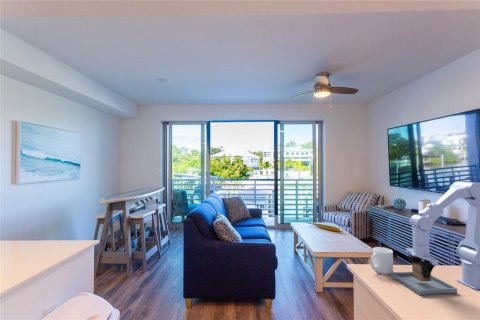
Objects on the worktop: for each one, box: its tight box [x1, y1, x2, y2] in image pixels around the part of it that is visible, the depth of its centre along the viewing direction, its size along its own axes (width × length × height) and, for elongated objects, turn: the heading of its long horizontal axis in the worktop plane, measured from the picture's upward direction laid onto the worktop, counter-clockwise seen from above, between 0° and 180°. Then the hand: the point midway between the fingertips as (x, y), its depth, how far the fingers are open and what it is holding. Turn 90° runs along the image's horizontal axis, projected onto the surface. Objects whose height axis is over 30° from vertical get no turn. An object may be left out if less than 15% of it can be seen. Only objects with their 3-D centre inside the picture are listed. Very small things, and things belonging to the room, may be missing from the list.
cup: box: [370, 246, 394, 275], centre depth 118 cm, size 8×12×10 cm
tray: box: [390, 271, 458, 297], centre depth 104 cm, size 16×16×2 cm
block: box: [411, 262, 432, 281], centre depth 104 cm, size 4×4×6 cm
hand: (421, 275), depth 104 cm, fingers closed on block, 4 cm apart
